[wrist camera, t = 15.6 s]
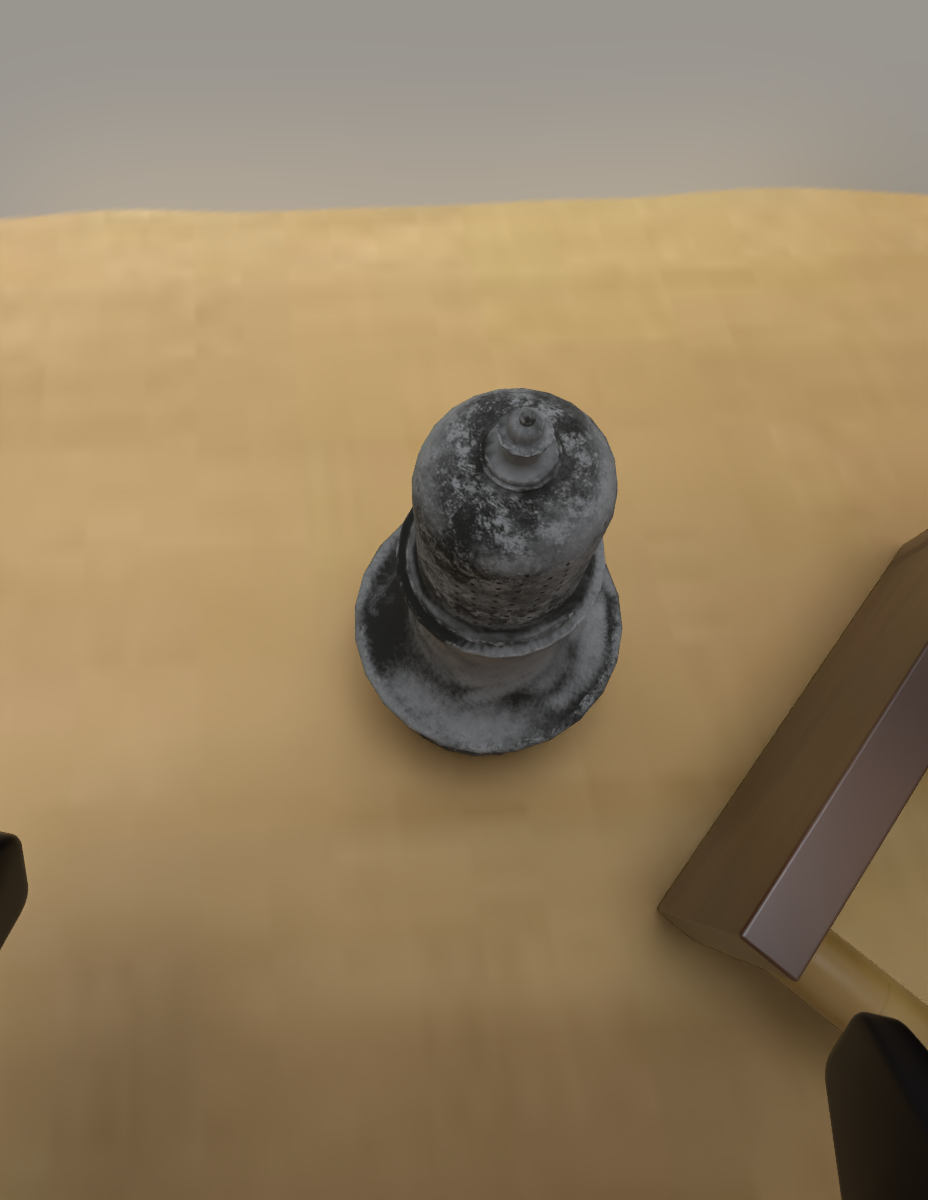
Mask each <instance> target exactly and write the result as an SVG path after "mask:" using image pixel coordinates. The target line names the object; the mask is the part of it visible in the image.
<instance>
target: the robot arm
mask: <svg viewBox="0 0 928 1200" xmlns="http://www.w3.org/2000/svg"><path fill="white" fill-rule="evenodd" d="M27 894H28V882H27V876H26V869H25V863H24V856H23V850H22V844H21V841H20V840H19V838H18V837H17V836H16V835H13V834H10V833H5V832H0V949H1V948H2V946H3V944H4V942H5V940H6V939H7V937H8V935H9V933H10V931H11V930H12V928H13V926H14V924H15V922H16V921H17V919H18V917H19V915H20V914H21V912H22V910H23V907H24V905H25V902H26V899H27ZM825 1081H826V1089H827V1096H828V1104H829V1111H830V1118H831V1126H832V1133H833V1140H834V1148H835V1155H836V1162H837V1169H838V1177H839V1184H840V1191H841V1199H842V1200H928V1050H927V1048H926V1047H925V1046H924V1045H923V1044H922V1043H921V1042H920V1040H919V1039H918V1038H917V1037H916V1036H915V1035H914V1033H913V1032H912V1031H911V1030H910V1029H909V1028H908V1027H907V1026H906V1025H905V1024H904V1023H902V1022H901V1021H899V1020H898V1019H895V1018H892V1017H887V1016H883V1015H878V1014H873V1013H868V1012H860V1013H857V1014H855V1015H854V1016H853V1017H852V1019H851V1020H850V1022H849V1023H848V1025H847V1027H846V1028H845V1030H844V1032H843V1033H842V1035H841V1036H840V1038H839V1040H838V1041H837V1043H836V1045H835V1046H834V1048H833V1049H832V1051H831V1053H830V1054H829V1057H828V1059H827V1063H826V1070H825Z"/></svg>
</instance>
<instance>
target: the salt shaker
mask: <svg viewBox="0 0 928 1200" xmlns="http://www.w3.org/2000/svg"><path fill="white" fill-rule="evenodd" d="M616 497H617V476H616V467H615V459H614V456H613V454H612V451H611V449H610V446H609V444H608V442H607V439H606V437H605V436H604V434H603V433H602V432H601V430H600V429H599V428H598V426H597V425H596V424H595V423H594V421H593V420H592V419H591V418H590V417H589V416H588V415H586V414H585V413H584V412H583V411H581V410H580V409H579V408H577V407H576V406H575V405H573V404H572V403H571V402H568V401H566V400H564V399H561V398H559V397H557V396H555V395H552V394H550V393H547V392H542V391H536V390H531V389H525V388H516V389H498V390H494V391H491V392H487V393H483V394H480V395H476V396H473V397H472V398H470V399H468V400H466V401H464V402H463V403H461V404H459V405H457V406H456V407H454V408H452V409H451V410H450V411H449V412H448V413H447V414H446V415H445V416H444V417H443V418H442V419H441V420H440V421H438V422H437V423H436V424H435V425H434V427H433V429H432V430H431V432H430V434H429V435H428V437H427V438H426V440H425V442H424V443H423V445H422V447H421V449H420V452H419V454H418V458H417V461H416V465H415V469H414V472H413V476H412V504H413V507H412V509H411V510H410V512H409V514H408V515H407V517H406V519H405V521H404V522H403V524H402V525H401V526H400V527H399V528H398V529H397V530H396V531H395V532H394V533H393V534H392V535H391V536H390V537H389V538H388V539H387V540H386V541H384V542H383V543H382V544H381V545H380V547H379V549H378V550H377V552H376V554H375V556H374V557H373V559H372V561H371V563H370V564H369V566H368V568H367V569H366V571H365V573H364V575H363V579H362V582H361V586H360V590H359V594H358V597H357V601H356V605H355V641H356V644H357V647H358V651H359V654H360V658H361V661H362V664H363V668H364V671H365V674H366V676H367V678H368V679H369V681H370V682H371V684H372V686H373V687H374V689H375V690H376V692H377V694H378V695H379V697H380V698H381V700H382V702H383V703H384V705H385V706H386V707H388V708H389V709H390V710H391V711H392V712H393V713H394V714H395V715H396V716H397V717H398V718H399V719H401V720H402V721H403V722H404V723H405V724H406V725H407V726H408V727H409V728H410V729H412V730H414V731H416V732H418V733H419V734H420V735H421V736H422V737H423V738H425V739H427V740H429V741H431V742H433V743H435V744H437V745H438V746H440V747H442V748H444V749H446V750H449V751H454V752H458V753H463V754H468V755H472V756H482V755H501V754H504V753H507V752H515V751H518V750H521V749H524V748H527V747H530V746H533V745H536V744H539V743H543V742H546V741H549V740H551V739H552V738H554V737H555V736H557V735H558V734H560V733H561V732H563V731H564V730H566V729H567V728H569V727H570V726H572V725H573V724H575V723H576V722H578V721H579V720H580V719H581V718H582V717H583V716H584V714H585V713H586V712H587V711H588V710H589V709H590V707H591V706H592V705H593V704H594V703H595V702H596V700H597V699H598V698H599V697H600V696H601V694H602V693H603V691H604V689H605V687H606V685H607V683H608V680H609V678H610V676H611V674H612V672H613V670H614V667H615V665H616V663H617V659H618V653H619V646H620V640H621V633H622V622H621V613H620V605H619V596H618V593H617V590H616V588H615V585H614V583H613V580H612V578H611V575H610V573H609V570H608V568H607V566H606V563H605V555H604V545H603V535H604V533H605V531H606V529H607V527H608V525H609V523H610V521H611V519H612V517H613V514H614V508H615V502H616Z"/></svg>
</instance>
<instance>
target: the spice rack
mask: <svg viewBox="0 0 928 1200" xmlns="http://www.w3.org/2000/svg"><path fill="white" fill-rule="evenodd" d="M927 768H928V529H927V530H926V531H924V532H923V533H921V534H919V535H918V536H916V537H915V538H913V539H912V540H910V541H909V542H907V543H905V544H904V545H903V546H902V548H901V549H900V551H899V552H898V554H897V555H896V557H895V558H894V560H893V561H892V562H891V564H890V565H889V567H888V568H887V570H886V571H885V573H884V574H883V575H882V577H881V578H880V580H879V581H878V583H877V584H876V586H875V587H874V589H873V590H872V592H871V593H870V595H869V596H868V598H867V599H866V601H865V602H864V603H863V605H862V606H861V608H860V609H859V611H858V612H857V614H856V615H855V617H854V618H853V620H852V621H851V623H850V624H849V626H848V627H847V629H846V630H845V632H844V633H843V634H842V636H841V637H840V639H839V640H838V642H837V643H836V645H835V646H834V648H833V649H832V651H831V652H830V654H829V655H828V657H827V658H826V660H825V661H824V662H823V664H822V665H821V667H820V668H819V670H818V671H817V673H816V674H815V676H814V677H813V679H812V680H811V682H810V683H809V685H808V686H807V688H806V689H805V691H804V692H803V693H802V695H801V696H800V698H799V699H798V701H797V702H796V704H795V705H794V707H793V708H792V710H791V711H790V713H789V714H788V716H787V717H786V719H785V720H784V721H783V723H782V724H781V726H780V727H779V729H778V730H777V732H776V733H775V735H774V736H773V738H772V739H771V741H770V742H769V744H768V745H767V747H766V748H765V749H764V751H763V752H762V754H761V755H760V757H759V758H758V760H757V761H756V763H755V764H754V766H753V767H752V769H751V770H750V772H749V773H748V775H747V776H746V778H745V779H744V780H743V782H742V783H741V785H740V786H739V788H738V789H737V791H736V792H735V794H734V795H733V797H732V798H731V800H730V801H729V803H728V804H727V806H726V807H725V808H724V810H723V811H722V813H721V814H720V816H719V817H718V819H717V820H716V822H715V823H714V825H713V826H712V828H711V829H710V831H709V832H708V834H707V835H706V837H705V838H704V839H703V841H702V842H701V844H700V845H699V847H698V848H697V850H696V851H695V853H694V854H693V856H692V857H691V859H690V860H689V862H688V863H687V865H686V866H685V867H684V869H683V870H682V872H681V873H680V875H679V876H678V878H677V879H676V881H675V882H674V884H673V885H672V887H671V888H670V890H669V891H668V893H667V894H666V896H665V897H664V898H663V900H662V901H661V903H660V904H659V906H658V911H659V912H660V913H662V914H663V915H664V916H665V917H666V918H668V919H669V920H670V921H671V922H673V923H674V924H675V925H676V926H677V927H679V928H680V929H681V930H682V931H684V932H685V933H686V934H687V935H688V936H690V937H691V938H692V939H693V940H694V941H696V942H699V943H701V944H703V945H706V946H708V947H711V948H713V949H716V950H718V951H720V952H723V953H725V954H728V955H730V956H733V957H735V958H737V959H740V960H742V961H745V962H747V963H750V964H752V965H754V966H757V967H759V968H762V969H764V970H767V971H768V972H769V973H771V974H772V975H773V976H774V977H776V978H777V979H778V980H779V981H781V982H782V983H783V984H784V985H785V986H787V987H788V988H789V989H790V990H792V991H793V992H794V993H795V994H796V995H798V996H799V997H800V998H801V999H803V1000H804V1001H805V1002H806V1003H808V1004H809V1005H810V1006H811V1007H812V1008H814V1009H815V1010H816V1011H817V1012H819V1013H820V1014H821V1015H822V1016H823V1017H825V1018H826V1019H827V1020H828V1021H830V1022H831V1023H832V1024H833V1025H835V1026H836V1027H837V1028H838V1029H839V1030H841V1031H842V1032H844V1030H845V1028H846V1027H847V1025H848V1023H849V1022H850V1020H851V1019H852V1017H853V1016H854V1015H855V1014H857V1013H860V1012H868V1013H873V1014H878V1015H883V1016H887V1017H892V1018H895V1019H898V1020H899V1021H901V1022H902V1023H904V1024H905V1025H906V1026H907V1027H908V1028H909V1029H910V1030H911V1031H912V1032H913V1033H914V1035H915V1036H916V1037H917V1038H918V1039H919V1040H920V1042H921V1043H922V1044H923V1045H924V1046H925V1047H926V1048H927V1050H928V1005H926V1004H925V1003H924V1002H922V1001H921V1000H920V999H919V998H917V997H916V996H915V995H914V994H912V993H911V992H910V991H909V990H907V989H906V988H905V987H903V986H902V985H901V984H900V983H898V982H897V981H896V980H895V979H893V978H892V977H891V976H890V975H888V974H887V973H886V972H885V971H883V970H882V969H881V968H879V967H878V966H877V965H876V964H874V963H873V962H872V961H871V960H869V959H868V958H867V957H866V956H864V955H863V954H862V953H860V952H859V951H858V950H857V949H855V948H854V947H853V946H852V945H850V944H849V943H848V942H847V941H845V940H844V939H843V938H841V937H840V936H839V935H838V934H836V933H835V932H834V931H833V930H831V929H830V928H831V926H832V925H833V923H834V921H835V920H836V918H837V916H838V915H839V913H840V912H841V910H842V908H843V907H844V905H845V903H846V902H847V900H848V898H849V897H850V895H851V893H852V892H853V890H854V888H855V887H856V885H857V884H858V882H859V880H860V879H861V877H862V875H863V874H864V872H865V870H866V869H867V867H868V865H869V864H870V862H871V860H872V859H873V857H874V856H875V854H876V852H877V851H878V849H879V847H880V846H881V844H882V842H883V841H884V839H885V837H886V836H887V834H888V832H889V831H890V829H891V828H892V826H893V824H894V823H895V821H896V819H897V818H898V816H899V814H900V813H901V811H902V809H903V808H904V806H905V804H906V803H907V801H908V800H909V798H910V796H911V795H912V793H913V791H914V790H915V788H916V786H917V785H918V783H919V781H920V780H921V778H922V776H923V775H924V773H925V772H926V770H927Z"/></svg>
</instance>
